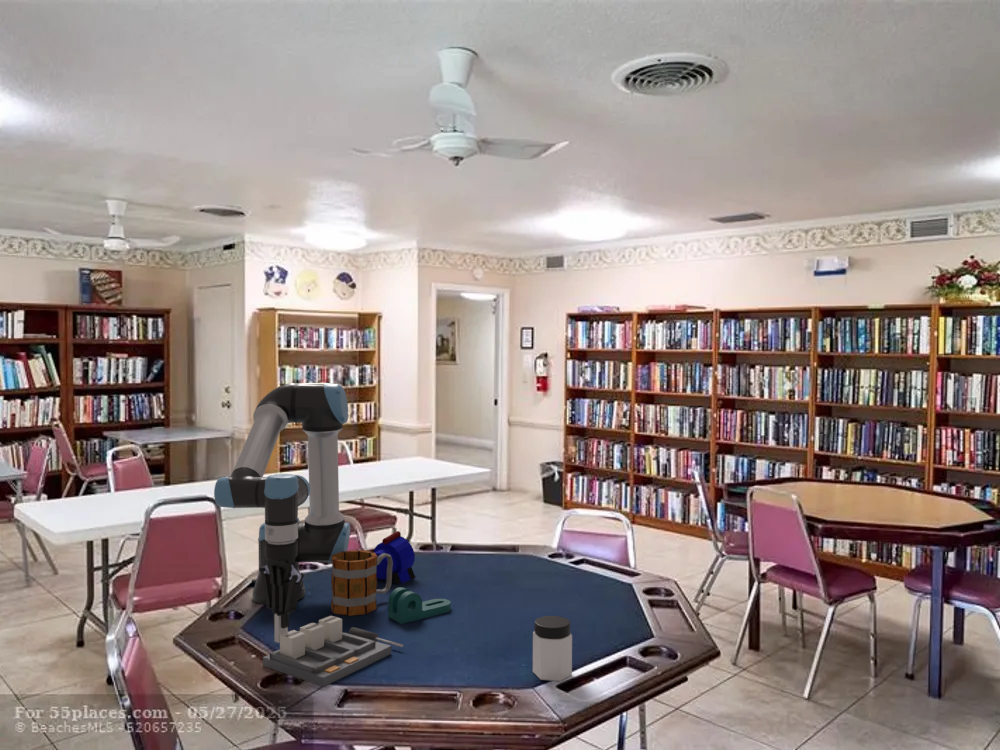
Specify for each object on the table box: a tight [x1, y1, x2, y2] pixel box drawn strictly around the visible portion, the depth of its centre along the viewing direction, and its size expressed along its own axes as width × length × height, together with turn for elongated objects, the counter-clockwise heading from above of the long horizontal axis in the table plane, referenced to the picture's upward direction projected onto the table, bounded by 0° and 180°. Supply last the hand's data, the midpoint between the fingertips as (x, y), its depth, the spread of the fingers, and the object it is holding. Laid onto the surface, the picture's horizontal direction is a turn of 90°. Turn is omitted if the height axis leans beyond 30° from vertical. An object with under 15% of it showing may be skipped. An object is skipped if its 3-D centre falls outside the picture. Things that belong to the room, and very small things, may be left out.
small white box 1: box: [279, 629, 305, 659], centre depth 174 cm, size 4×4×5 cm
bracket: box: [387, 586, 452, 625], centre depth 210 cm, size 18×7×8 cm, turn 129°
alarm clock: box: [373, 530, 416, 586], centre depth 243 cm, size 12×12×15 cm
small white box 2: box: [318, 615, 343, 642], centre depth 184 cm, size 4×4×5 cm
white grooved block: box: [299, 622, 324, 650], centre depth 179 cm, size 4×4×5 cm
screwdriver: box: [348, 626, 404, 648], centre depth 188 cm, size 17×2×2 cm, turn 57°
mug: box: [330, 549, 393, 617], centre depth 216 cm, size 20×14×15 cm
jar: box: [532, 615, 573, 682], centre depth 170 cm, size 9×8×12 cm
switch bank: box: [262, 631, 392, 688], centre depth 177 cm, size 20×22×3 cm
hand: (281, 640), depth 176 cm, fingers closed
